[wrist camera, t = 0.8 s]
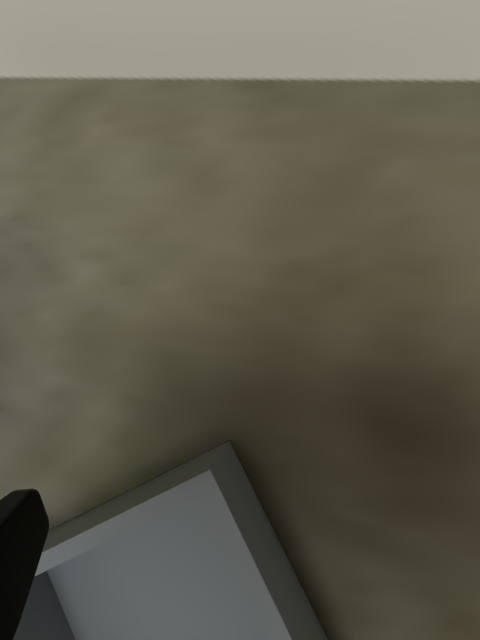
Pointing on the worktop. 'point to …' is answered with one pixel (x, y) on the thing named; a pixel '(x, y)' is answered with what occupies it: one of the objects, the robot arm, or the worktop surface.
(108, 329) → the worktop surface
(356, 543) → the worktop surface
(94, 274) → the worktop surface
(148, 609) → the tote
